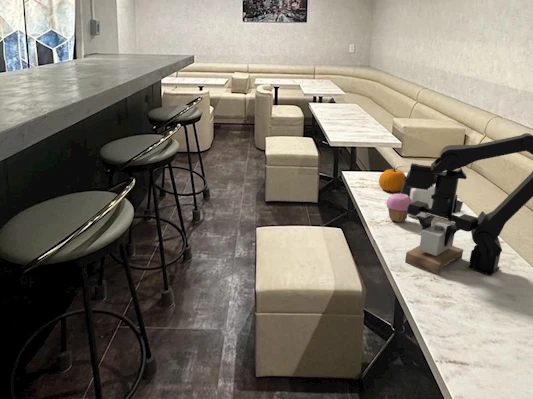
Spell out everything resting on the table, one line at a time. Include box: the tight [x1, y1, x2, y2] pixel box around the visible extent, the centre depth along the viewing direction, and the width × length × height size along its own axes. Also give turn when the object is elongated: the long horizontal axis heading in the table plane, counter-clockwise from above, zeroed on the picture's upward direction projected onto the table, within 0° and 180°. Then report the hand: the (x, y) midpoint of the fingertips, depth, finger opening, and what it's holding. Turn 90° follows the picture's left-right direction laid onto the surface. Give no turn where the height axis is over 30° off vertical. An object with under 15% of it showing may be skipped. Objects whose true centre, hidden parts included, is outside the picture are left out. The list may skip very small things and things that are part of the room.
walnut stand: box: [405, 244, 464, 275], centre depth 136 cm, size 10×15×3 cm, turn 135°
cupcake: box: [385, 193, 413, 223], centre depth 164 cm, size 9×9×10 cm
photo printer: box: [407, 185, 435, 218], centre depth 171 cm, size 10×4×12 cm, turn 123°
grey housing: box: [419, 221, 455, 256], centre depth 134 cm, size 10×5×7 cm, turn 134°
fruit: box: [378, 166, 407, 193], centre depth 199 cm, size 12×12×10 cm
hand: (436, 243), depth 135 cm, fingers closed on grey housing, 5 cm apart
